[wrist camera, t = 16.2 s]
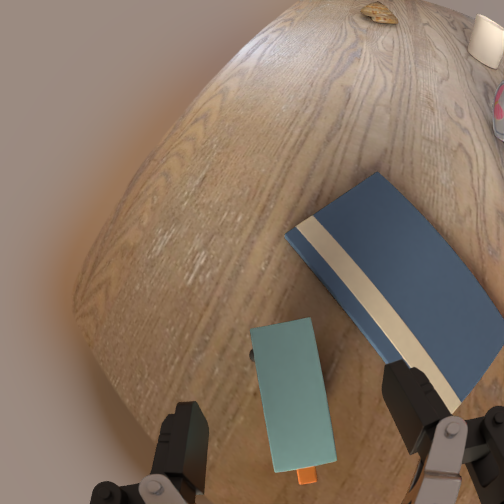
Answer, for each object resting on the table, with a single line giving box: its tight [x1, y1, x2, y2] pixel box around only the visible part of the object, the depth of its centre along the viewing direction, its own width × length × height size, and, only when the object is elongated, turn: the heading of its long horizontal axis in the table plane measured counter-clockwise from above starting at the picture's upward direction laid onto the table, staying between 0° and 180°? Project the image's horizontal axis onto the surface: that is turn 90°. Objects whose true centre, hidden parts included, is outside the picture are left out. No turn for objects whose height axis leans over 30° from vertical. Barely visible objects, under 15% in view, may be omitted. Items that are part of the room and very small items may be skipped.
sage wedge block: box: [249, 317, 337, 485], centre depth 13 cm, size 7×3×8 cm, turn 9°
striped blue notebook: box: [285, 172, 504, 414], centre depth 18 cm, size 18×10×1 cm, turn 34°
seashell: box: [360, 1, 398, 24], centre depth 38 cm, size 8×6×8 cm
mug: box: [468, 14, 504, 69], centre depth 29 cm, size 12×8×10 cm, turn 153°
